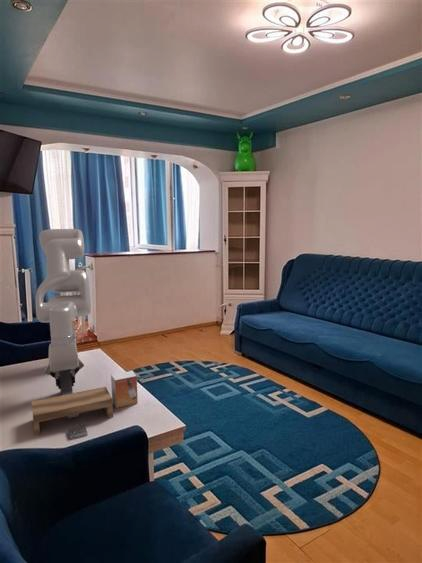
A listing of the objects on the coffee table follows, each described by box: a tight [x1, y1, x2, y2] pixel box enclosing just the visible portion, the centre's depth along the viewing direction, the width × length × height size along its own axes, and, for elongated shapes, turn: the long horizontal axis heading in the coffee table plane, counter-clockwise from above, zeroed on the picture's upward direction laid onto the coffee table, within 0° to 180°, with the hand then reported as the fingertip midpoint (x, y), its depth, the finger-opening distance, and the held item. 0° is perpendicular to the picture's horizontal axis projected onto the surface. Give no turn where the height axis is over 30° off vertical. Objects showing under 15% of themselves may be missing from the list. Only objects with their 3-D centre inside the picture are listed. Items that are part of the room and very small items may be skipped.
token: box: [67, 423, 88, 440], centre depth 122 cm, size 5×5×2 cm
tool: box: [59, 369, 80, 419], centre depth 140 cm, size 22×4×10 cm, turn 26°
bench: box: [31, 386, 114, 436], centre depth 130 cm, size 10×24×6 cm, turn 116°
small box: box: [110, 370, 138, 409], centre depth 140 cm, size 8×6×10 cm
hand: (65, 385), depth 148 cm, fingers closed on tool, 4 cm apart
